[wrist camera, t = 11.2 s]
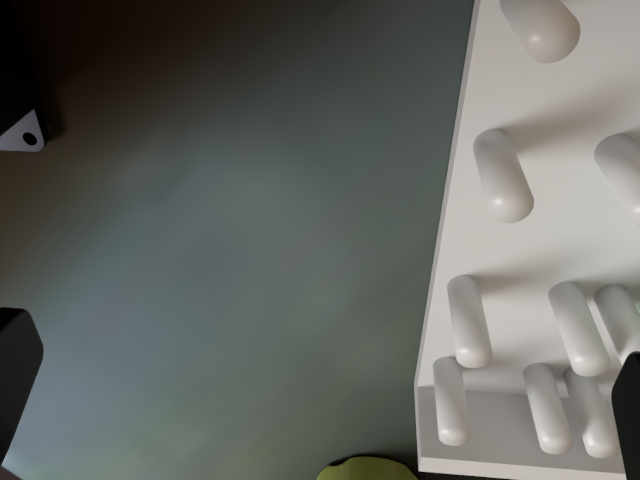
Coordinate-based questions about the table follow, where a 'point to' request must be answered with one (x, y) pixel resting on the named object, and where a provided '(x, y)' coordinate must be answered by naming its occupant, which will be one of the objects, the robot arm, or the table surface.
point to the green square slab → (638, 306)
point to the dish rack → (536, 247)
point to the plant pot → (367, 470)
